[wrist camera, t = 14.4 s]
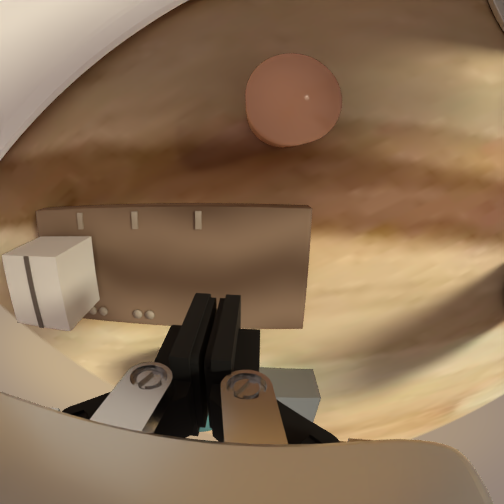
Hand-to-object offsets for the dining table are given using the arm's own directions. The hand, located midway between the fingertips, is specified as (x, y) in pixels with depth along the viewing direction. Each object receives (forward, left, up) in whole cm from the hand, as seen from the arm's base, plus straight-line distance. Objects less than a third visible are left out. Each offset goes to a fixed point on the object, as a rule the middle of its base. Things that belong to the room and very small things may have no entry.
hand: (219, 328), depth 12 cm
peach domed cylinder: (-10, +3, -12) cm, 16 cm away
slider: (+1, -13, -10) cm, 16 cm away
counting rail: (+1, -5, -12) cm, 13 cm away
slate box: (+13, +4, -12) cm, 19 cm away
